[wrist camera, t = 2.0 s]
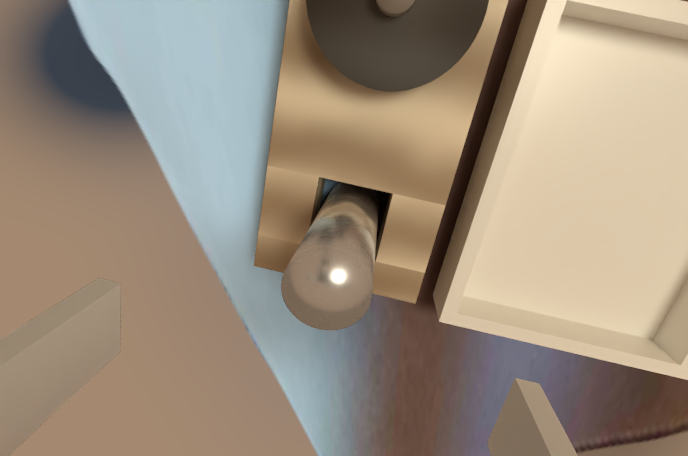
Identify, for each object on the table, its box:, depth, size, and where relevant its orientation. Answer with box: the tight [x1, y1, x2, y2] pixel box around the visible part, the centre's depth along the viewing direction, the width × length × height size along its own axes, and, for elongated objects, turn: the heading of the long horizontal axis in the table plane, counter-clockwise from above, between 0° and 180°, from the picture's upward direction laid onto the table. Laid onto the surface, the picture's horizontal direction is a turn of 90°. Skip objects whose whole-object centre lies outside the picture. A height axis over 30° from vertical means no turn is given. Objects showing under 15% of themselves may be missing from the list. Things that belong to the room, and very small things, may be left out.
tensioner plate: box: [254, 0, 508, 303], centre depth 24 cm, size 24×12×8 cm, turn 169°
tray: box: [433, 0, 688, 380], centre depth 26 cm, size 22×18×4 cm
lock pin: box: [281, 182, 379, 330], centre depth 23 cm, size 4×4×14 cm
